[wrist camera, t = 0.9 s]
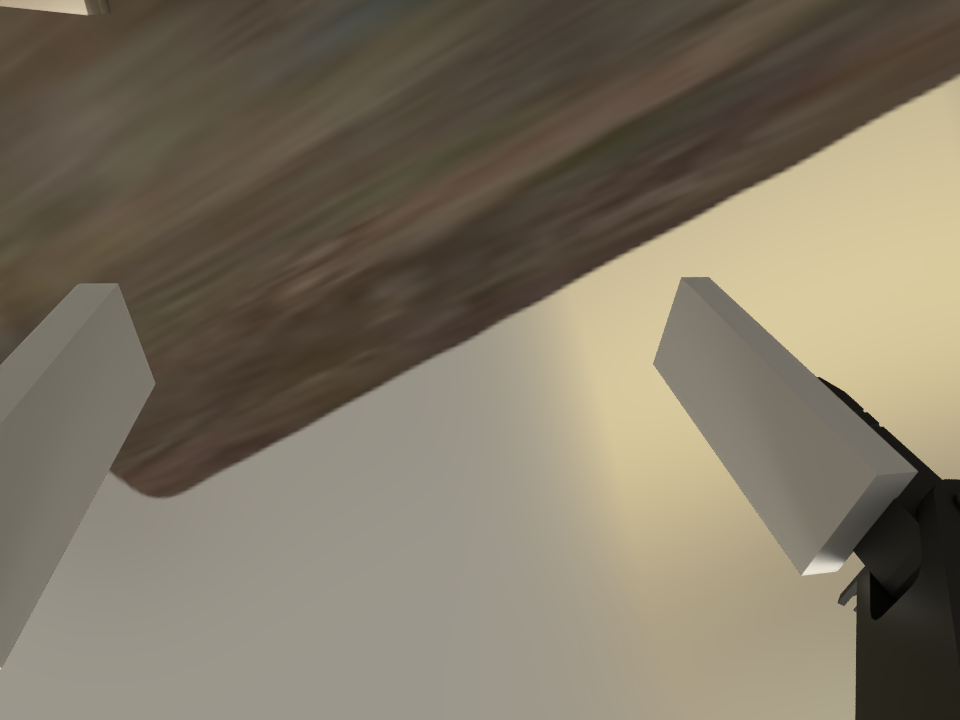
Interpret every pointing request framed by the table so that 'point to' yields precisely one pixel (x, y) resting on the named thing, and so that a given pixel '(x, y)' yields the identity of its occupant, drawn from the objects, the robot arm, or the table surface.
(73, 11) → the track
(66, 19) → the table surface
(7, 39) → the table surface
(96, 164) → the table surface
